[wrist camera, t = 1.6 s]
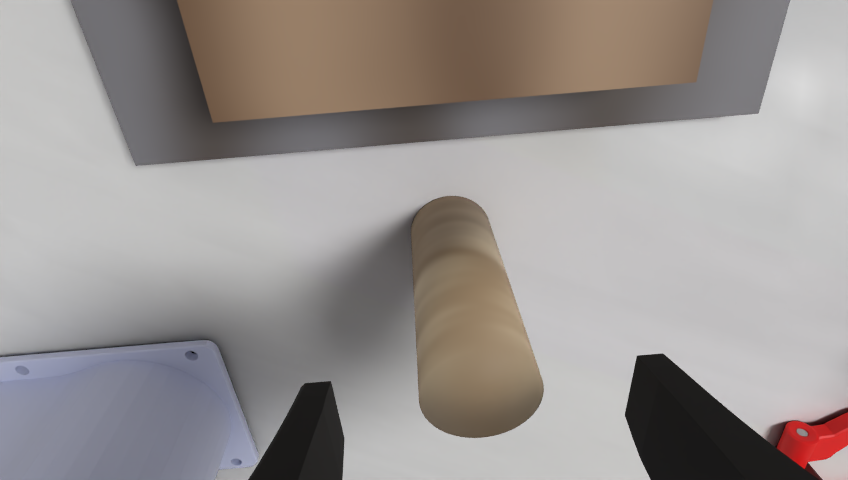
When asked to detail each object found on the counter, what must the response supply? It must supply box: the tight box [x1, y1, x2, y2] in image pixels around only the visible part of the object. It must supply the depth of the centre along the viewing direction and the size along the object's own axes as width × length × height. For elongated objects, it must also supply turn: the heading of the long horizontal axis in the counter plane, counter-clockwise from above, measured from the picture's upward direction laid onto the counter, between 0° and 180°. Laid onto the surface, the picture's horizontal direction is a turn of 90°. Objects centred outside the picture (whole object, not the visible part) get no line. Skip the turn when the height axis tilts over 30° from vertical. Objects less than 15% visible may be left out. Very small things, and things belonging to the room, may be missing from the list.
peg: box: [411, 196, 544, 438], centre depth 15 cm, size 3×3×8 cm
